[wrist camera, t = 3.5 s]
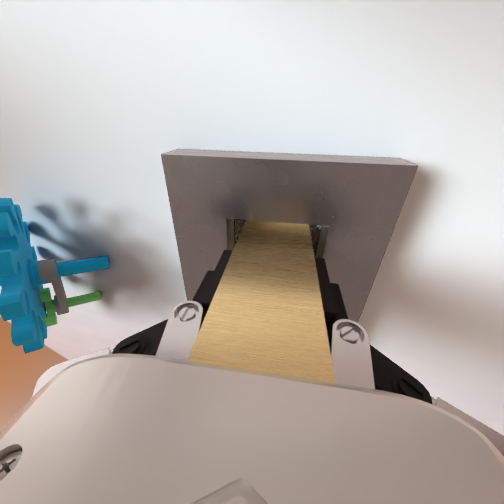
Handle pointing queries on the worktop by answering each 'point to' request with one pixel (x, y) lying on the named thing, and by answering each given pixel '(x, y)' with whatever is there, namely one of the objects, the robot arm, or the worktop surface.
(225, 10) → the worktop surface
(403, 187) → the rail plate
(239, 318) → the peg
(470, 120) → the worktop surface
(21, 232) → the gear
